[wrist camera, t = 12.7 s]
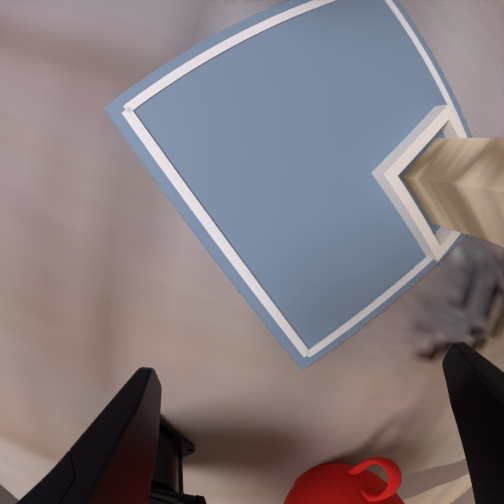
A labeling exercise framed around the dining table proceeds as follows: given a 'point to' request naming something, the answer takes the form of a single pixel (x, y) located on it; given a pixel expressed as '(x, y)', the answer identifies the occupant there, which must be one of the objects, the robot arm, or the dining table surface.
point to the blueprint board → (295, 158)
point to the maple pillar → (462, 185)
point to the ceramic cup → (347, 484)
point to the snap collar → (399, 195)
